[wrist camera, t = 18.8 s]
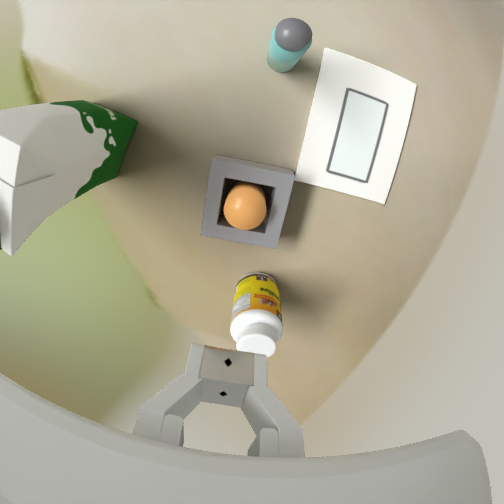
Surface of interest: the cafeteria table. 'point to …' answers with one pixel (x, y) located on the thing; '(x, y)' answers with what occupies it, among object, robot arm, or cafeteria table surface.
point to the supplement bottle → (256, 314)
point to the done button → (245, 205)
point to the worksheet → (355, 127)
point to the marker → (288, 44)
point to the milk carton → (54, 160)
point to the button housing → (254, 173)
